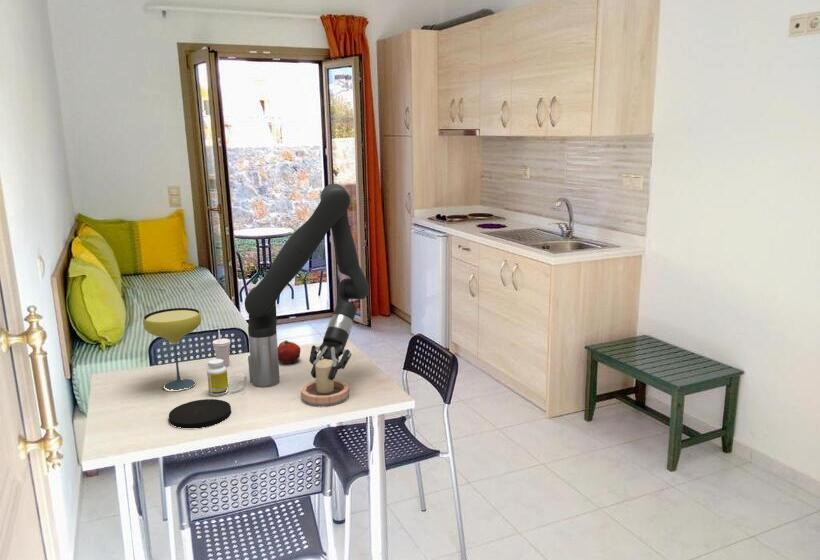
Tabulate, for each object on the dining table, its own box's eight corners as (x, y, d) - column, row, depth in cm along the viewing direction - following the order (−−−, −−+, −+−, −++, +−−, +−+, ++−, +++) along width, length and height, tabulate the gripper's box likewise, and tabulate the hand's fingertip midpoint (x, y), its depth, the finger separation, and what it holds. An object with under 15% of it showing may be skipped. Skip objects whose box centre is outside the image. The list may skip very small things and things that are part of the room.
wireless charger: (242, 416, 193) (241, 410, 192) (185, 435, 181) (185, 429, 180) (213, 400, 205) (213, 394, 205) (159, 417, 193) (158, 411, 193)
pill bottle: (232, 391, 211) (230, 359, 209) (218, 398, 206) (215, 365, 204) (219, 388, 215) (216, 356, 212) (205, 394, 209) (202, 362, 207)
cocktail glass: (138, 392, 212) (130, 320, 206) (174, 374, 229) (167, 306, 223) (184, 398, 206) (176, 324, 201) (217, 379, 223) (211, 309, 217)
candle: (330, 393, 202) (329, 363, 199) (314, 392, 203) (312, 362, 201) (336, 387, 207) (334, 357, 205) (320, 386, 208) (318, 357, 206)
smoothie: (214, 364, 238) (211, 328, 235) (232, 362, 239) (229, 326, 236) (214, 370, 232) (211, 333, 229) (233, 368, 233) (229, 331, 230)
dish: (292, 401, 202) (291, 392, 202) (320, 385, 215) (319, 376, 214) (331, 409, 195) (331, 400, 195) (357, 392, 208) (357, 383, 208)
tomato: (293, 356, 245) (292, 336, 243) (306, 362, 238) (304, 341, 237) (271, 361, 239) (270, 341, 238) (283, 367, 232) (282, 346, 231)
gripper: (314, 323, 210) (297, 370, 202) (353, 327, 205) (337, 375, 196) (323, 334, 216) (307, 380, 208) (361, 338, 211) (346, 385, 202)
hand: (321, 377), depth 202 cm, fingers closed on candle, 5 cm apart
